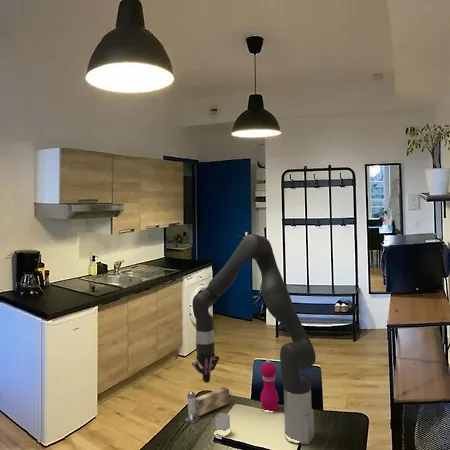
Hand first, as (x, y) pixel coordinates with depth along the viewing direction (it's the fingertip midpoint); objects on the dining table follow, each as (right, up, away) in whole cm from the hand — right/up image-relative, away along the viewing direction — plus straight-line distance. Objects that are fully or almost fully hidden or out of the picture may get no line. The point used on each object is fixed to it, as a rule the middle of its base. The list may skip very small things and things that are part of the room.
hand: (206, 381), depth 178 cm
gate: (+3, -8, -7) cm, 11 cm away
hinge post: (-5, -9, -13) cm, 17 cm away
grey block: (+7, -10, -24) cm, 27 cm away
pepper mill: (+25, -8, -7) cm, 27 cm away
